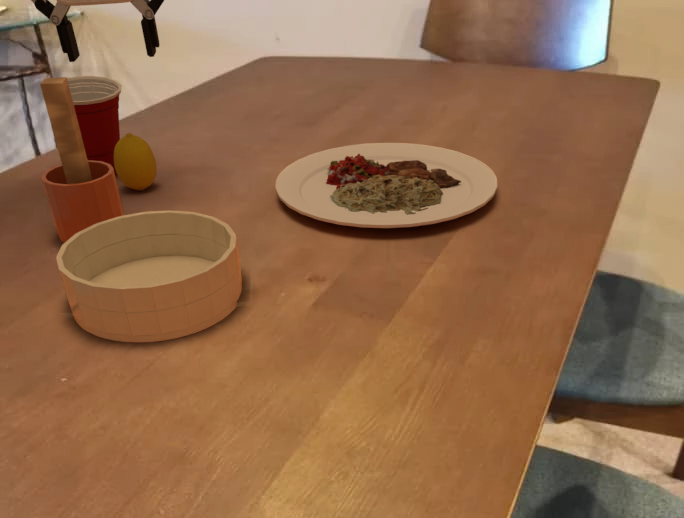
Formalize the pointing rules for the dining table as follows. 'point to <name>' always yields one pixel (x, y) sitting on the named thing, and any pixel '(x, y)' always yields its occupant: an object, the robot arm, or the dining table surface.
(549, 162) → the dining table surface
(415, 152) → the plated food
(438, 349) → the dining table surface
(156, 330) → the bowl
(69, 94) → the wooden stirring stick
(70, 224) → the crock
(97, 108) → the plastic cup
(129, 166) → the lemon
